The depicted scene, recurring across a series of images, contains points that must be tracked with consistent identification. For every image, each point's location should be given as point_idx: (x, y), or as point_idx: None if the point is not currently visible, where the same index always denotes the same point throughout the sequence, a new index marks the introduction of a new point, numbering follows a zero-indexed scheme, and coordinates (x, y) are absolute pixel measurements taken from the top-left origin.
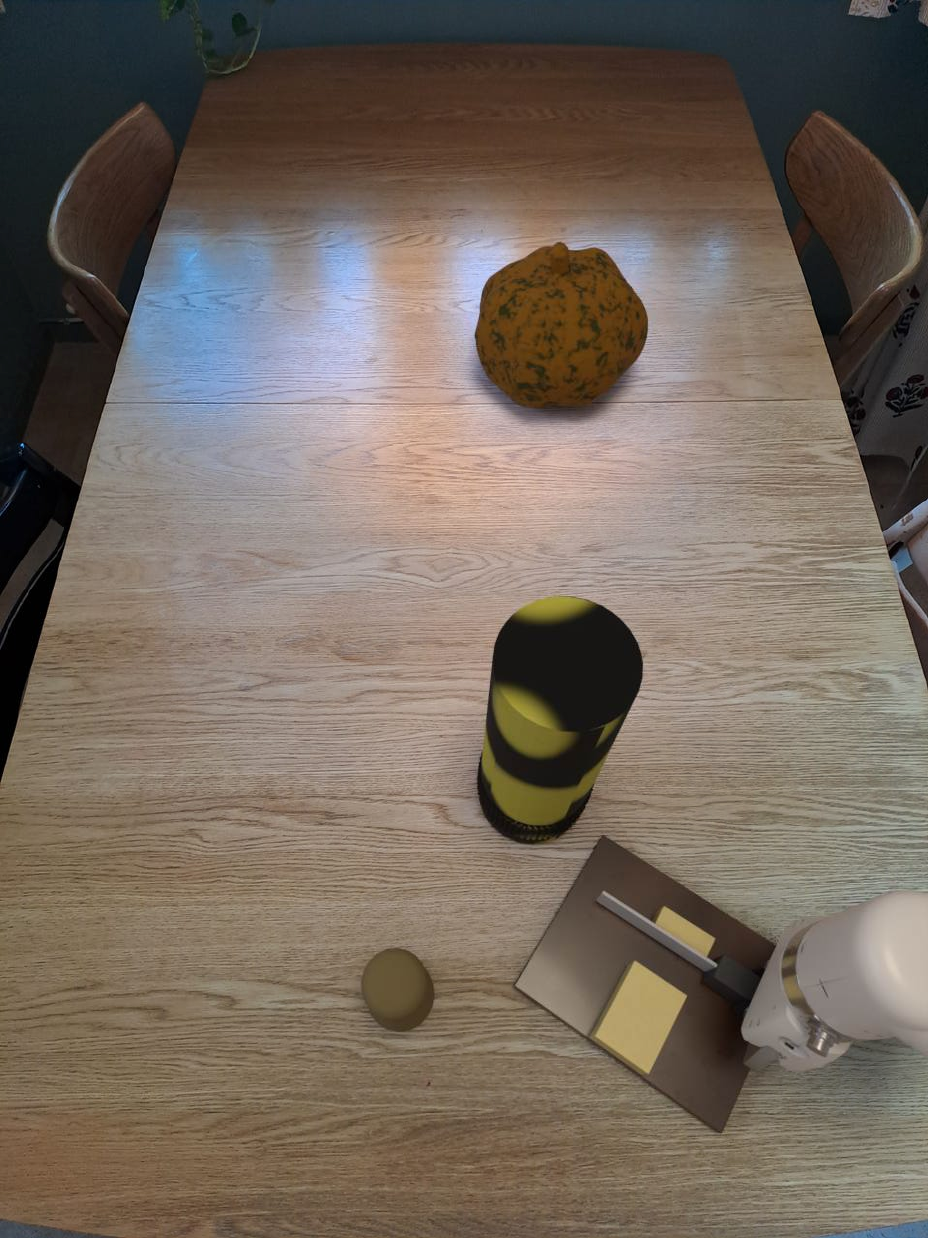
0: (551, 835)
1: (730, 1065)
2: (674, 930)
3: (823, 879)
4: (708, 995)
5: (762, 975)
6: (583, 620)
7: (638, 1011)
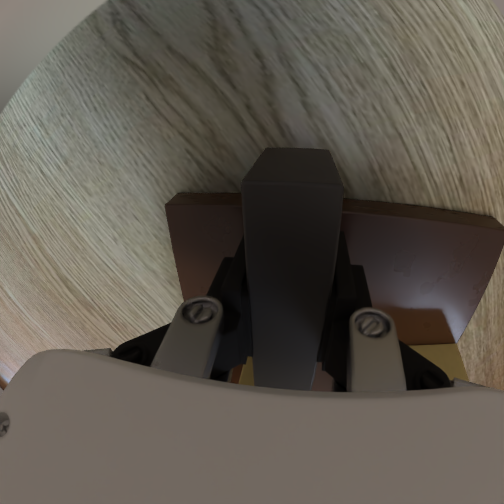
0: None
1: (421, 252)
2: None
3: (62, 203)
4: None
5: (245, 355)
6: None
7: None
